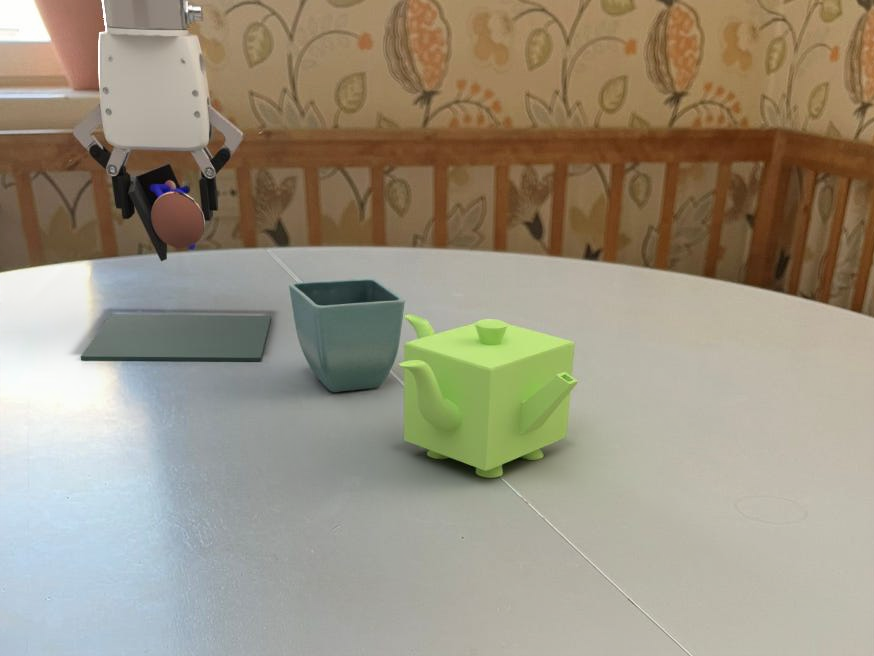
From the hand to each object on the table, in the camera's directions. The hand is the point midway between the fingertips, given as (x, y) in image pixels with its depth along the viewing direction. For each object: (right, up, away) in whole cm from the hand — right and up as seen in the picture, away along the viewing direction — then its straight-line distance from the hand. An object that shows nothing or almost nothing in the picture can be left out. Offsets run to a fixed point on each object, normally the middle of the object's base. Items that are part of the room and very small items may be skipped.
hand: (168, 216), depth 107 cm
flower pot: (+19, -18, -4) cm, 27 cm away
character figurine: (0, -3, +2) cm, 3 cm away
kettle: (+32, -28, -18) cm, 46 cm away
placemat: (0, -11, +7) cm, 13 cm away
